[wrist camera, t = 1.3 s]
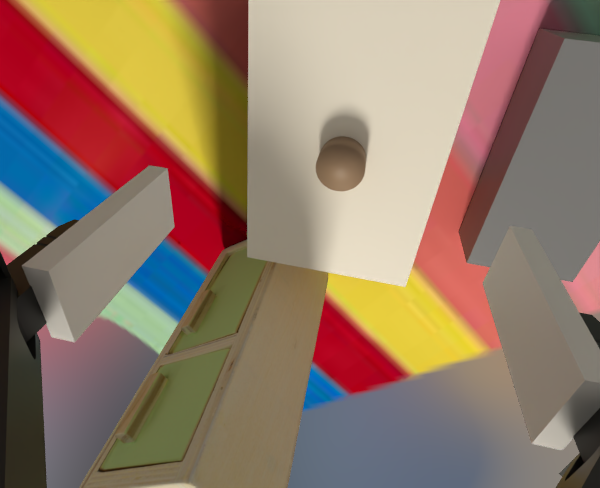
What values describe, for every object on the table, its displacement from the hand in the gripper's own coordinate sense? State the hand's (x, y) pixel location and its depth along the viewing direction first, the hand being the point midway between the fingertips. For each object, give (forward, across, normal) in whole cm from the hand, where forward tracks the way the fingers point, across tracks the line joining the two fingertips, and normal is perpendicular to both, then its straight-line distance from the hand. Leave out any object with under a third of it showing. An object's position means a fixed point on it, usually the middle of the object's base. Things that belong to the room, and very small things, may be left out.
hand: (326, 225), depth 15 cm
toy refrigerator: (+15, -5, -14) cm, 21 cm away
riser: (+14, +13, 0) cm, 19 cm away
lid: (+8, 0, 0) cm, 8 cm away
